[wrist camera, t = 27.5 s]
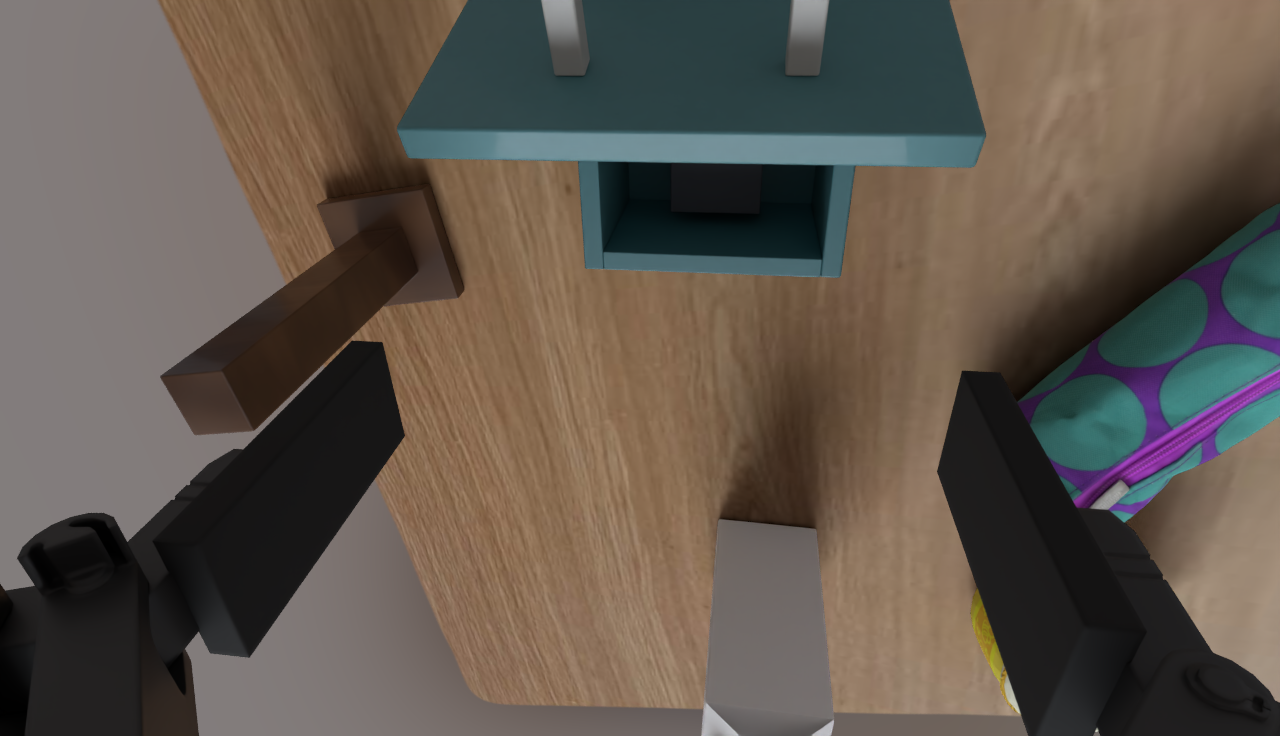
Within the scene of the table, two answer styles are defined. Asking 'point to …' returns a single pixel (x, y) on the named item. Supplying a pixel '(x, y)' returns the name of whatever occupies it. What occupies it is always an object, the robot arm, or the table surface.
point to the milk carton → (767, 635)
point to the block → (716, 188)
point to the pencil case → (1169, 378)
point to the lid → (700, 84)
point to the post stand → (318, 309)
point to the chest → (715, 222)
